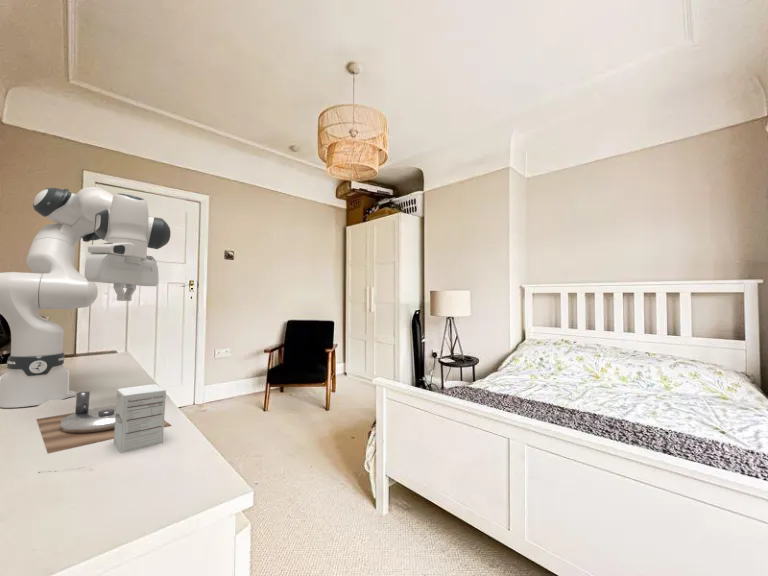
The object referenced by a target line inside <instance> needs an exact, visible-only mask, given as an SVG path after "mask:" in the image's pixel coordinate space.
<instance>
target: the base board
mask: <svg viewBox="0 0 768 576" xmlns="http://www.w3.org/2000/svg"><path fill="white" fill-rule="evenodd" d="M74 413H75V412H72V413H71V412H70V413H65V414H64V413H63V414H59V415H52V416H47V417H41V418H36V422H37V425H38V428H39V429H38V430H39V431H40V434H41V438H42V440H43V443H44V447H45V449H46V453H47V454H52V453H56V452H61V451H66V450H70V449H75V448H79V447H83V446H89V445H92V444H96V443H102V442H106V441H109V440H114V430H115V429H111V430H105V431H99V432H90V433H68V432H64V431H62V430H61V429H60V426H61V420H62V419H63V418H65V417H67V416H69V415H71V414H74ZM172 426H173V425H172V424H171V423H169V422H167V421H166V420H165V419H164V428H167V427H168V428H169V427H172Z"/></svg>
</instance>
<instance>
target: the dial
mask: <svg viewBox="0 0 768 576" xmlns="http://www.w3.org/2000/svg"><path fill="white" fill-rule="evenodd" d="M90 392H91V391H88V390H83V391H79V392H77V393H76V398H75V412H73V413H74V414H71V415H69V416H67V417H65V418H63V419H62V420H61V426H60V429H61V430H62V431H64V432H68V433H90V432H99V431H105V430H111V429H115V416H116V405H115V404H114V405H108V406H107V405H106V406H99V407H95V408H90V394H91V393H90Z"/></svg>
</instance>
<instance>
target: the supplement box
mask: <svg viewBox="0 0 768 576" xmlns="http://www.w3.org/2000/svg"><path fill="white" fill-rule="evenodd" d="M166 393H167V390H166V389H165V388H163V387H162V386H160V385H158V384H156V383H154V384H145V385H138V386H137V385H136V386H129V387H122V388H117V389H116V402H115V404H116V416H115V430H114V439H113V444H114V446H115V447H116V449H117V450H118V452H119V453H120V454H122V453H126V452H132V451H135V450H139V449H142V448H143V449H144V448H148V447H152V446H156V445H159V444H163V443H164V429H165V427H164V420H165V414H166V413H165V411H166Z"/></svg>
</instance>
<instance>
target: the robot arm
mask: <svg viewBox="0 0 768 576" xmlns="http://www.w3.org/2000/svg"><path fill="white" fill-rule="evenodd" d="M32 208H33V210H34V211H35V212H36V213H38V214H39V215H40V216H42V217H44V218H45V217H46V218H47V219H49V220H51V221H53V222H54V223H50V224H47V225H44V226H42V227H41V228H40V229H39V231H38V232H37V233H36V235H35V237H34V238H33V240H32V242H31V244H30V245H31V246H30V248H29V250H28V253H27V257H26V259H25V260H26V261H25V262H26V265H27V267H28V268H29V270H31V271H32V272H20V271H19V272H18V271H9V272H8V271H6V272H0V315H1V316H2V317H3V318H4V319H5V320H6V322H7V324H8V326H9V330H10V341H11V344H10V347H11V348H10V355H9V356H8V357H7V361H6V364H7V366H6V368H7V369H8V370H6V372H4V373H3V374H2V375H1V376H0V408H3V409H4V408H5V409H7V408H8V409H10V408H25V407H31V406H32V407H33V406H40V405H42V404H44V403H47V402H50V401H59V400H60V401H61V400H65V399H67V398H71V397H75V396H77V393H76V391H74V390H70V370H68V369H67V368H66V367H64V361H65V352H63V351H64V350H63V349H64V337H65V330H64V328H63V327H62V326H61V325H60V324H58V323H57V322H55V321H52V320H50V319H46V318H43V317H42V316H41V315H40V314H39V310H73V309H83V308H87V307H90V306H91V305H92V304H94V302H95V301H96V300H97V297H98V294H99V292H98V291H99V290H98V286H97V285H96V283H103V284H104V283H105V284H113V287H112V288H113V291H114V292H115V294H116V301H119V302H121V301H122V302H131V301H132V299H133V298H132V297H133V295H134V293H135V291H136V290H137V286H140V287H157V285H158V284H159V281H160V279H159V277H160V276H159V267H158V264H157V260H156V259H155V258H154V256H152V255H147V253H148V248H149V249H153V250H159V249H161V248H163V247H164V246H166V245H168V243H169V241H170V239H171V227H170V226H169V224H168V222H167V221H165V219H163V218H161V217H153V216H150V215H149V207H148V202H147V200H146V199H144V198H142V197H139V196H135V195H130V194H125V193H115V194H112V193H111V192H109V191H108V190H105V189H104V188H101V187H99V186H98V187H97V186H86V187H83V188H81V189H80V190H79V191H78V192H77V193H73V192H71V191H69V188H64V189H62V188H58V187H48V188H47V187H46V188H45V189H43V190H41V191H40V192H38V193H37V194H36V195H35V197H34V198H33V204H32ZM81 239H82V241H83V242H84V243H87V242H91V241H98V240H102V241H105V242H104V243H103V242H102V243H95V244H89V245H88V246H87V253H89V254H88V256H87V257H86V260H85V265H84V275H83V274H82V273H80V272H79V271H78V270H77V269H76V267H75V259H76V253H77V246H78V243H79V241H80V240H81ZM124 289H126V290H124Z"/></svg>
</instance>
